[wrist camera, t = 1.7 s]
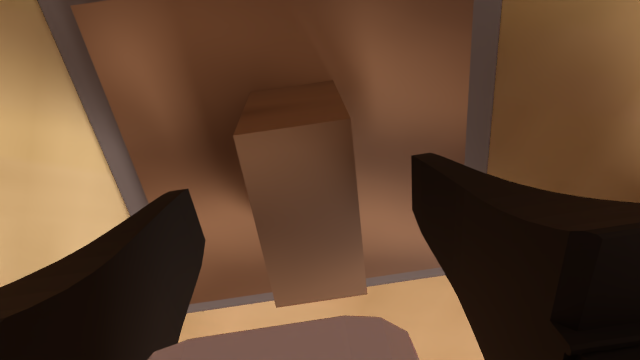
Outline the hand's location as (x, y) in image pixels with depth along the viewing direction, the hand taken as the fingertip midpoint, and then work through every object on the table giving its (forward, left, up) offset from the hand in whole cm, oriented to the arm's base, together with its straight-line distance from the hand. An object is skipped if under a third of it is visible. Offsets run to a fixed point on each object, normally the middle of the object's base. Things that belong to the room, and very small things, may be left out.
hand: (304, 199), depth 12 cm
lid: (0, 0, -4) cm, 4 cm away
